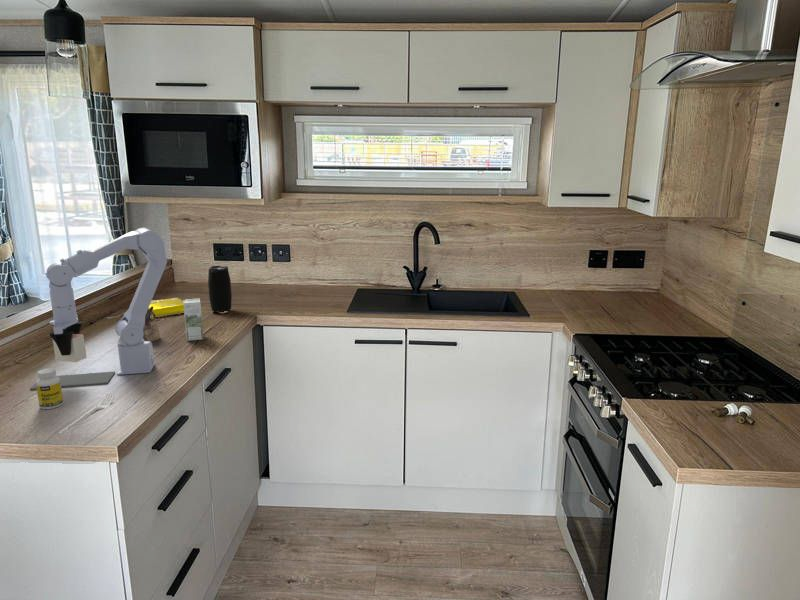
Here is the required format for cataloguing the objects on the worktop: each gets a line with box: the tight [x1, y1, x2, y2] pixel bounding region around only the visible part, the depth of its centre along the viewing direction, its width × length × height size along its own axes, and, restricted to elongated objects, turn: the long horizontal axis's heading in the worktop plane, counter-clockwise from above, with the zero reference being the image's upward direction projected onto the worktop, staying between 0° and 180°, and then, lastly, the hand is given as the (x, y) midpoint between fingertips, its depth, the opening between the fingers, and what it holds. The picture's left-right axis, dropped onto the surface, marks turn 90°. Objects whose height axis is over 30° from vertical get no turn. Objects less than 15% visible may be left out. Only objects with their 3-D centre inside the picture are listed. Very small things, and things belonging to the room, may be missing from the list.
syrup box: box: [182, 298, 204, 342], centre depth 204 cm, size 6×6×14 cm
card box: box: [52, 333, 87, 363], centre depth 164 cm, size 4×7×7 cm, turn 76°
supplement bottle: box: [35, 367, 64, 410], centre depth 149 cm, size 5×5×10 cm
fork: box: [58, 393, 116, 434], centre depth 144 cm, size 3×20×2 cm, turn 172°
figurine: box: [143, 306, 161, 342], centre depth 204 cm, size 7×7×12 cm
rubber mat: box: [29, 370, 116, 391], centre depth 166 cm, size 20×9×1 cm, turn 104°
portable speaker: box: [207, 265, 233, 313], centre depth 240 cm, size 9×9×20 cm
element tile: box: [148, 297, 184, 316], centre depth 242 cm, size 15×15×5 cm
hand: (70, 350), depth 164 cm, fingers closed on card box, 6 cm apart
